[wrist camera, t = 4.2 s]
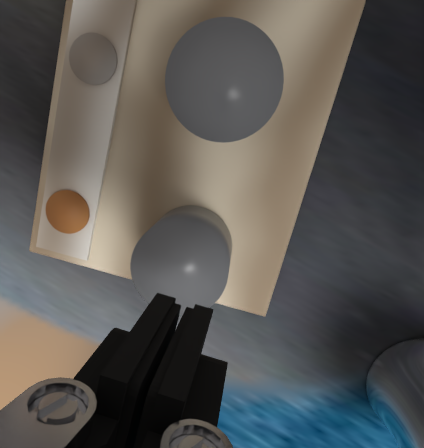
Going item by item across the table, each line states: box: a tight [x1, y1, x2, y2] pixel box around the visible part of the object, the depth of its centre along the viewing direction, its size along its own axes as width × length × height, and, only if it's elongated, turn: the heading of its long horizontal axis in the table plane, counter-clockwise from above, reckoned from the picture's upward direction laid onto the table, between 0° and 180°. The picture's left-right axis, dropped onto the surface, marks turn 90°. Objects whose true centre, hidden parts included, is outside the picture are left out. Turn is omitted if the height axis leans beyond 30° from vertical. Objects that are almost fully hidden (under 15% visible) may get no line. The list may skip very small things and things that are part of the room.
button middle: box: [165, 17, 284, 143], centre depth 16 cm, size 4×4×4 cm
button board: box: [29, 0, 366, 316], centre depth 20 cm, size 14×22×2 cm, turn 165°
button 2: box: [130, 205, 232, 316], centre depth 19 cm, size 4×4×4 cm
